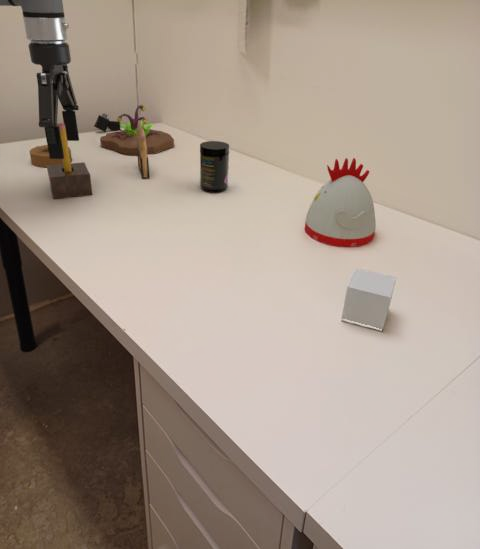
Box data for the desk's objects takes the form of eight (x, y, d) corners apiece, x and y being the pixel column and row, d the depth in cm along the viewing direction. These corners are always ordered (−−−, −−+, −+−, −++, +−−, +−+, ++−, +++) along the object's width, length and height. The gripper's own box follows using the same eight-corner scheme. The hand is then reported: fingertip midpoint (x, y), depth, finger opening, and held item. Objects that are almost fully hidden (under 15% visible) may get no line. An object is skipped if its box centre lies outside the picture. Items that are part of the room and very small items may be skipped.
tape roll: (26, 166, 122) (24, 155, 120) (38, 155, 130) (36, 144, 129) (66, 167, 122) (64, 156, 121) (75, 155, 131) (74, 145, 129)
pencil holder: (53, 199, 104) (49, 177, 102) (50, 186, 111) (46, 165, 108) (92, 195, 107) (89, 173, 105) (87, 182, 114) (84, 162, 111)
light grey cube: (388, 310, 73) (396, 277, 70) (382, 332, 68) (390, 297, 65) (349, 300, 75) (356, 267, 71) (340, 321, 70) (347, 286, 67)
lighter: (113, 136, 157) (119, 122, 157) (116, 137, 156) (122, 123, 155) (92, 125, 151) (99, 110, 151) (95, 127, 150) (102, 112, 149)
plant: (186, 145, 143) (185, 107, 137) (133, 159, 130) (130, 117, 125) (143, 132, 154) (141, 96, 148) (91, 143, 141) (87, 104, 136)
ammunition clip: (149, 178, 118) (146, 129, 112) (142, 178, 117) (138, 129, 111) (145, 164, 127) (142, 119, 121) (138, 165, 126) (135, 119, 120)
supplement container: (225, 194, 111) (226, 150, 105) (197, 192, 111) (197, 148, 106) (230, 184, 117) (231, 142, 111) (203, 182, 117) (203, 140, 112)
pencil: (66, 191, 108) (56, 125, 101) (68, 189, 110) (58, 123, 102) (73, 191, 108) (63, 125, 101) (75, 189, 110) (65, 123, 102)
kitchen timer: (298, 216, 101) (306, 147, 94) (361, 216, 103) (374, 148, 95) (313, 247, 90) (323, 170, 82) (383, 246, 91) (400, 171, 83)
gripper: (49, 49, 83) (68, 167, 94) (82, 36, 104) (94, 134, 115) (5, 48, 82) (29, 166, 93) (47, 35, 104) (62, 133, 114)
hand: (65, 149), depth 104 cm, fingers open, 13 cm apart
